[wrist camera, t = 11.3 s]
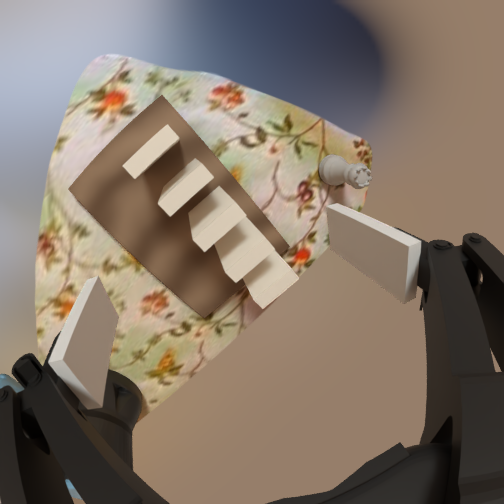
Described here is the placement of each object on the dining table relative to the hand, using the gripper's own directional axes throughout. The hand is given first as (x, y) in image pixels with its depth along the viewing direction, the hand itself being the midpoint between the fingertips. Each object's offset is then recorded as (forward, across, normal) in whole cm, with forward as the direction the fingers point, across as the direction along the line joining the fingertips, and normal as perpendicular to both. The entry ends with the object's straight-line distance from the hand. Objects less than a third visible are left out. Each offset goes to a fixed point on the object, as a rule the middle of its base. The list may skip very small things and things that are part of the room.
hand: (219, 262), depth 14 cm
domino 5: (+20, -5, +10) cm, 23 cm away
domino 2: (+20, +1, -3) cm, 20 cm away
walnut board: (+22, +2, +2) cm, 22 cm away
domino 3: (+20, -1, +1) cm, 20 cm away
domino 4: (+20, -3, +6) cm, 21 cm away
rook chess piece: (+22, -20, +1) cm, 29 cm away
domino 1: (+20, +3, -7) cm, 21 cm away
